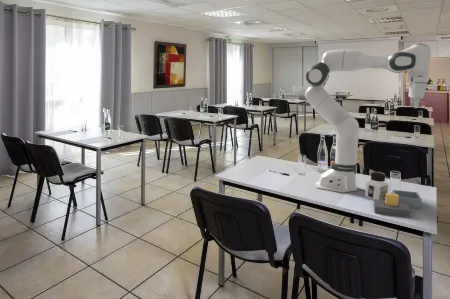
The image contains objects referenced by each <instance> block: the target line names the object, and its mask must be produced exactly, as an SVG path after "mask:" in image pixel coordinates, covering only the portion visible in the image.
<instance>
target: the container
mask: <svg viewBox="0 0 450 299" xmlns="http://www.w3.org/2000/svg"><path fill="white" fill-rule="evenodd" d="M388 192H389V183H387V182H386V174H385V173H383V172H380V171H374V172H373V171H372V172H371V173H370V181H368V182H366V184H365V194H364V195H365V198H369V199H372V200H385V198H386V193H388Z"/></svg>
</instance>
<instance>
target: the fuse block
mask: <svg viewBox="0 0 450 299" xmlns="http://www.w3.org/2000/svg"><path fill="white" fill-rule="evenodd" d="M372 204H373V205H372V208H373V211H374V214H382V215H389V216H396V217H397V216H398V217H404V218H410V216H411V215H410V214H411V209H410V207H408V205H407V203H401V202H398V206H397V207H395V206H386V205H385V200H384V199H382V200H375V199H373V203H372Z"/></svg>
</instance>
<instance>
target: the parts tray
mask: <svg viewBox="0 0 450 299" xmlns="http://www.w3.org/2000/svg"><path fill="white" fill-rule="evenodd" d="M391 194H398V195H399V198H398V202H401V203H407V205H408V207H409V208H411V209H412V208H414V209H421V208H422V200H423V199H422V198H421V196H420V194H419V193H418V192H417V191H407V190H399V189H398V190H397V189H392V193H391Z"/></svg>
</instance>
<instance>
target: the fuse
mask: <svg viewBox="0 0 450 299" xmlns="http://www.w3.org/2000/svg"><path fill="white" fill-rule="evenodd" d="M398 198H399V195H398V194H392V193H386V198H385V199H384V201H385V205H386V206H395V207H397V206H398Z"/></svg>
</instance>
